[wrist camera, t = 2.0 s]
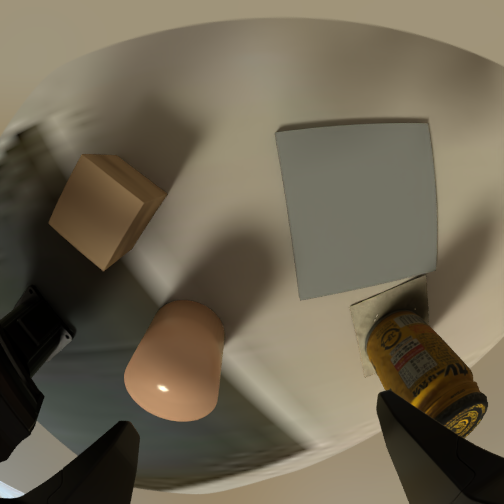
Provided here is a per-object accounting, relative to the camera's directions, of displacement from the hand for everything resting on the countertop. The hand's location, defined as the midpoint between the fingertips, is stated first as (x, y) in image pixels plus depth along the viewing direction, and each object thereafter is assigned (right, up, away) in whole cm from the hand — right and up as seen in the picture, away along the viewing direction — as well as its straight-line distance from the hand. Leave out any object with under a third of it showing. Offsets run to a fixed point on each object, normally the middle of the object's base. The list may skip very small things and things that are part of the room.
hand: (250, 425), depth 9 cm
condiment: (+13, -1, +15) cm, 19 cm away
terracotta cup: (-5, -1, +14) cm, 15 cm away
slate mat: (+8, +9, +11) cm, 17 cm away
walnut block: (-9, +9, +11) cm, 17 cm away
